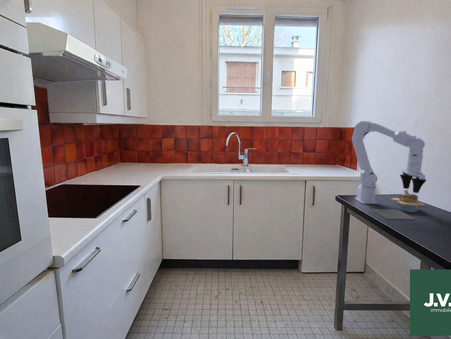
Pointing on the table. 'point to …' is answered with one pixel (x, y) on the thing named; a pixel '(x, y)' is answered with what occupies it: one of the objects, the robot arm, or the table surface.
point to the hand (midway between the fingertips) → (410, 190)
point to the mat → (393, 214)
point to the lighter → (408, 193)
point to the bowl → (406, 208)
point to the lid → (408, 200)
